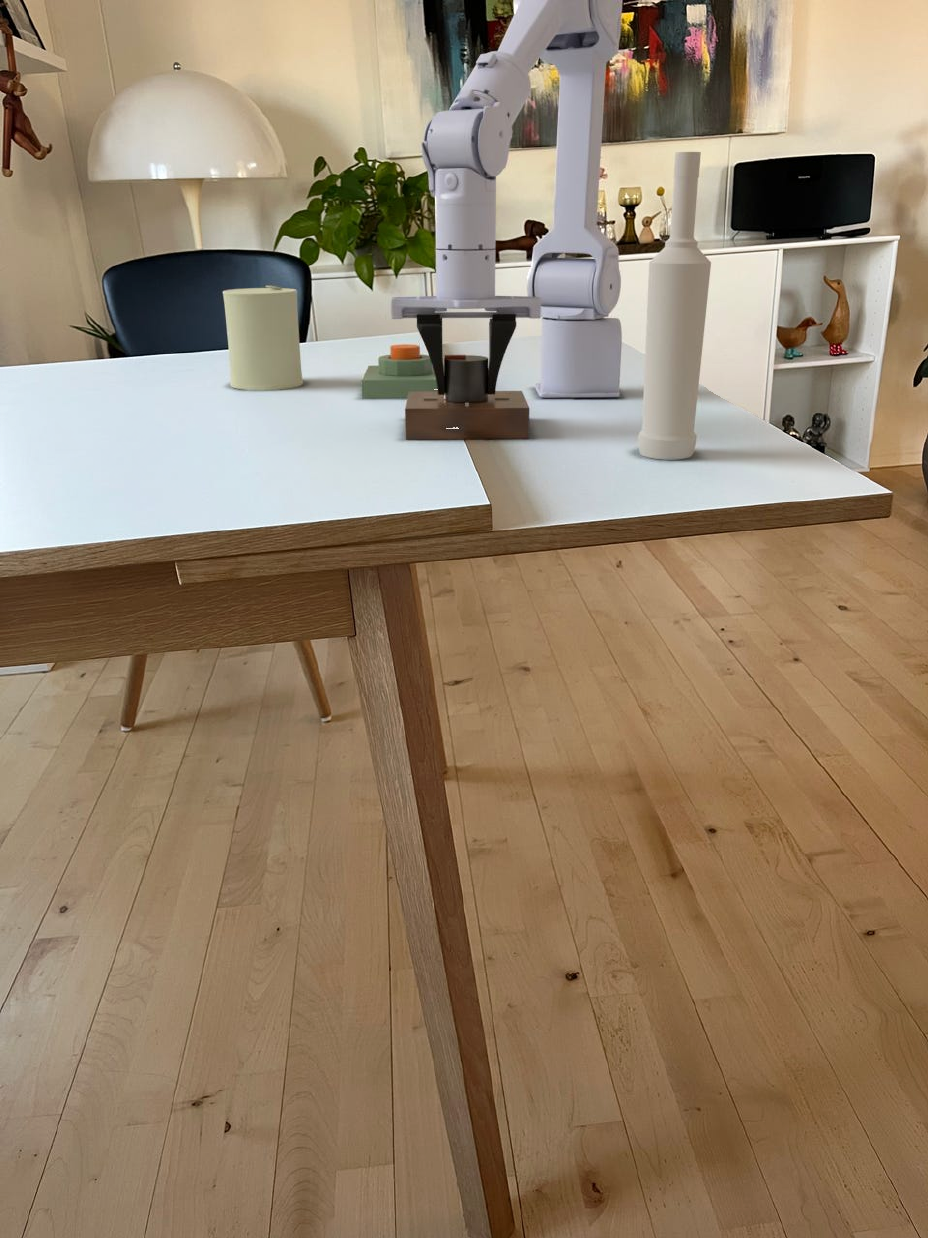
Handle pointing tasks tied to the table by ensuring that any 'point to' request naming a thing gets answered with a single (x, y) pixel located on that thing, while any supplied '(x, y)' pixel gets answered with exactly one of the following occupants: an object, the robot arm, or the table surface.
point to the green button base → (398, 378)
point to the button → (405, 352)
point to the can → (263, 338)
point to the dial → (466, 378)
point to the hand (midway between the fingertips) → (465, 393)
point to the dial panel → (467, 417)
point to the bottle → (675, 326)
